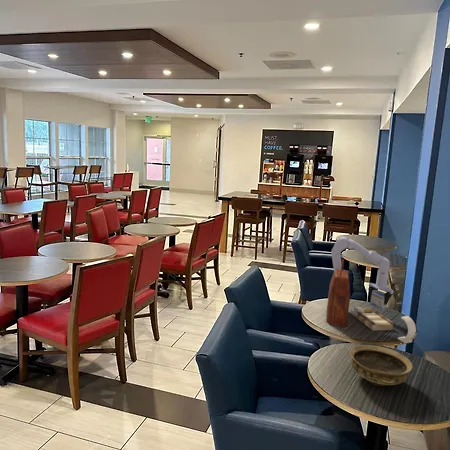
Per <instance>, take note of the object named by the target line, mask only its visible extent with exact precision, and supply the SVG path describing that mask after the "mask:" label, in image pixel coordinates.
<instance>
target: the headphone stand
mask: <svg viewBox="0 0 450 450" xmlns="http://www.w3.org/2000/svg"><path fill="white" fill-rule="evenodd" d="M400 319H401V320H403V321H404V323H405V324H406V326H407V334H406V336H405V335H404V336H399V337H397V340H399V341H401V342H403V343H404V344H410V343H413V340H412V338H414V337H415V335H416V331H417V328H416V327H417V326H416V323H415V322H414V320H413V319H412V317H410V316H409V315H403V316H401V318H400Z"/></svg>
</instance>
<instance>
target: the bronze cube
mask: <svg viewBox="0 0 450 450" xmlns="http://www.w3.org/2000/svg"><path fill="white" fill-rule="evenodd" d="M362 308H363V309H364V313H374V309H373V308H372V306H363V307H362Z"/></svg>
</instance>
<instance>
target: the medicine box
mask: <svg viewBox="0 0 450 450" xmlns="http://www.w3.org/2000/svg"><path fill="white" fill-rule="evenodd" d="M384 293H385V291H382V290H379V289H376V290H373V291H372V296H370V306H373V307H375V308H378V309H380V310H383V309H386V308H387V305H388V304H387V305H384V300H385V295H384Z"/></svg>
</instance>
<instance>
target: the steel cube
mask: <svg viewBox="0 0 450 450" xmlns="http://www.w3.org/2000/svg"><path fill="white" fill-rule="evenodd" d="M353 310H354V312H356V313H357V314H358V311H360V312H361V313H364V309H363V307H362V306H354V307H353Z"/></svg>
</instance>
